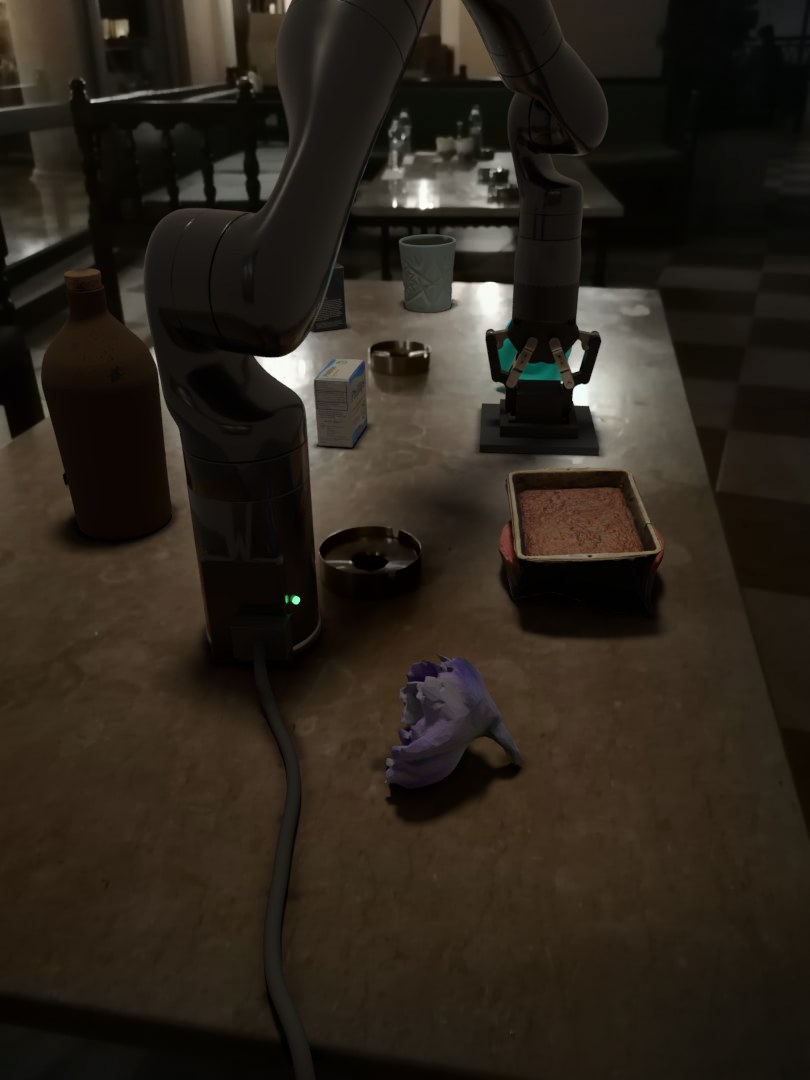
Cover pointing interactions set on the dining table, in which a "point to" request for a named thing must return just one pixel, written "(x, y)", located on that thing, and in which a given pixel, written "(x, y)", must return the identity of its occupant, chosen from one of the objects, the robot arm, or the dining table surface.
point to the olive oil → (106, 417)
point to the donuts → (531, 370)
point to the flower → (443, 722)
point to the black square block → (539, 401)
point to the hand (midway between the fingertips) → (537, 413)
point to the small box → (333, 304)
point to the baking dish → (580, 538)
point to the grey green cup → (427, 271)
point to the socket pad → (537, 433)
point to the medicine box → (341, 402)
